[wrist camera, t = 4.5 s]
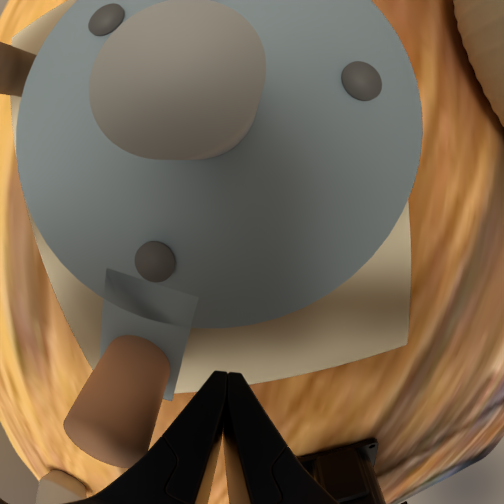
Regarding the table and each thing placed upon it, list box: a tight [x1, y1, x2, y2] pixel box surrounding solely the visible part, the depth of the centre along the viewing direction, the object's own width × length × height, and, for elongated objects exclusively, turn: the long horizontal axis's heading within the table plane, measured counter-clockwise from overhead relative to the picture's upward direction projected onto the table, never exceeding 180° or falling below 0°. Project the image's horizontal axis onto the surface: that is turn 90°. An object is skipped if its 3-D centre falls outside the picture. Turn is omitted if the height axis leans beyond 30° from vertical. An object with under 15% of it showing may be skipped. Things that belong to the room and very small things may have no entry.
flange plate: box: [16, 0, 423, 468], centre depth 6 cm, size 16×13×5 cm
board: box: [0, 0, 411, 393], centre depth 9 cm, size 20×16×5 cm
